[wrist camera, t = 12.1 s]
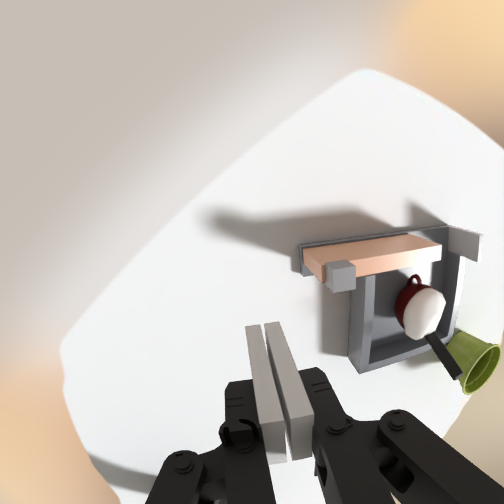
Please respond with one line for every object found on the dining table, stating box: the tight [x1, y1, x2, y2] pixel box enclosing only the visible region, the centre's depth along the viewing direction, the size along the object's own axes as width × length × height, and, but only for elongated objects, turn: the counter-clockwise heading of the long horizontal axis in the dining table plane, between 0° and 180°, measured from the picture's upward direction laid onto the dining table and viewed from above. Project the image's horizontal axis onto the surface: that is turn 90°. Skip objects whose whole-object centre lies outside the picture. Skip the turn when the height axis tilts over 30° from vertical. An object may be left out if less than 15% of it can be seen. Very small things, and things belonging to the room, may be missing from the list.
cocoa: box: [394, 274, 464, 380], centre depth 26 cm, size 10×6×12 cm, turn 174°
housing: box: [299, 225, 483, 374], centre depth 29 cm, size 22×16×7 cm
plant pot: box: [446, 331, 501, 395], centre depth 33 cm, size 9×9×9 cm
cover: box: [303, 234, 442, 293], centre depth 26 cm, size 14×2×8 cm, turn 97°
